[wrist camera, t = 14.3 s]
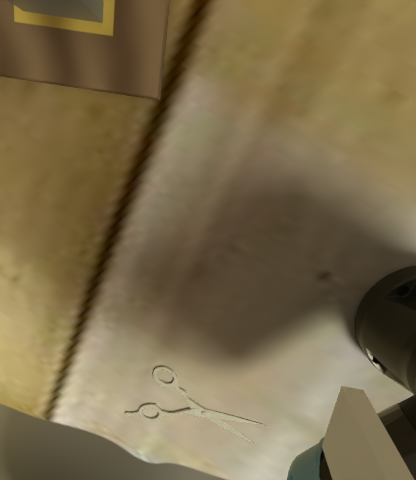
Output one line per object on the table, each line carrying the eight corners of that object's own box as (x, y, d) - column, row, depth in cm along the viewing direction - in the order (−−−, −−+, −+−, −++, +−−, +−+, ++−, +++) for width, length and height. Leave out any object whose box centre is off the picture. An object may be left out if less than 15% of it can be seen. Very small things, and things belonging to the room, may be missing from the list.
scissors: (146, 360, 42) (278, 411, 43) (148, 357, 43) (277, 407, 44) (124, 415, 45) (247, 461, 46) (126, 411, 46) (247, 456, 47)
